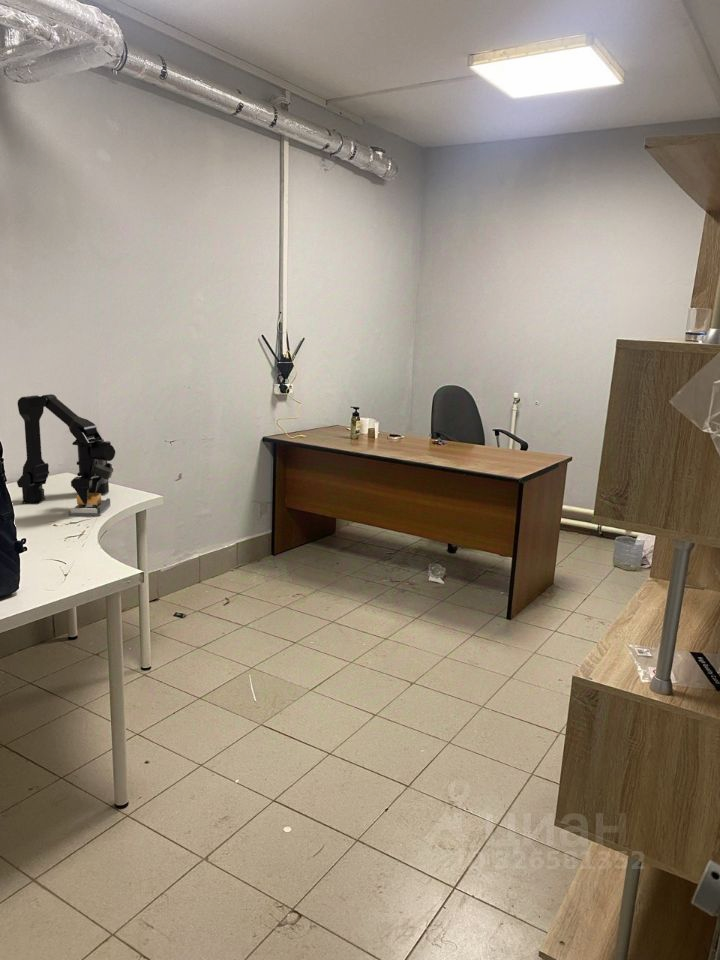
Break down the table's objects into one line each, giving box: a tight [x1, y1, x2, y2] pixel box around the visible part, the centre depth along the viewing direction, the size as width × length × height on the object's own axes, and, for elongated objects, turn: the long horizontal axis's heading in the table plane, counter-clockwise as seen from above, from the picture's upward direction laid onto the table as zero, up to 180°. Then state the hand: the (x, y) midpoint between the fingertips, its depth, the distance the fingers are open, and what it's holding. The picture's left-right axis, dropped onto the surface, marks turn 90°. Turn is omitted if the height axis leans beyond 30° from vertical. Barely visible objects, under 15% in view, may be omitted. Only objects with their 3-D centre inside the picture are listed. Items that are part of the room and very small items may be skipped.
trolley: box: [76, 493, 102, 508], centre depth 248 cm, size 7×5×5 cm
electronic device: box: [88, 459, 110, 496], centre depth 269 cm, size 9×6×20 cm, turn 92°
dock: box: [67, 498, 111, 517], centre depth 248 cm, size 11×13×3 cm
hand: (89, 500), depth 247 cm, fingers open, 9 cm apart
